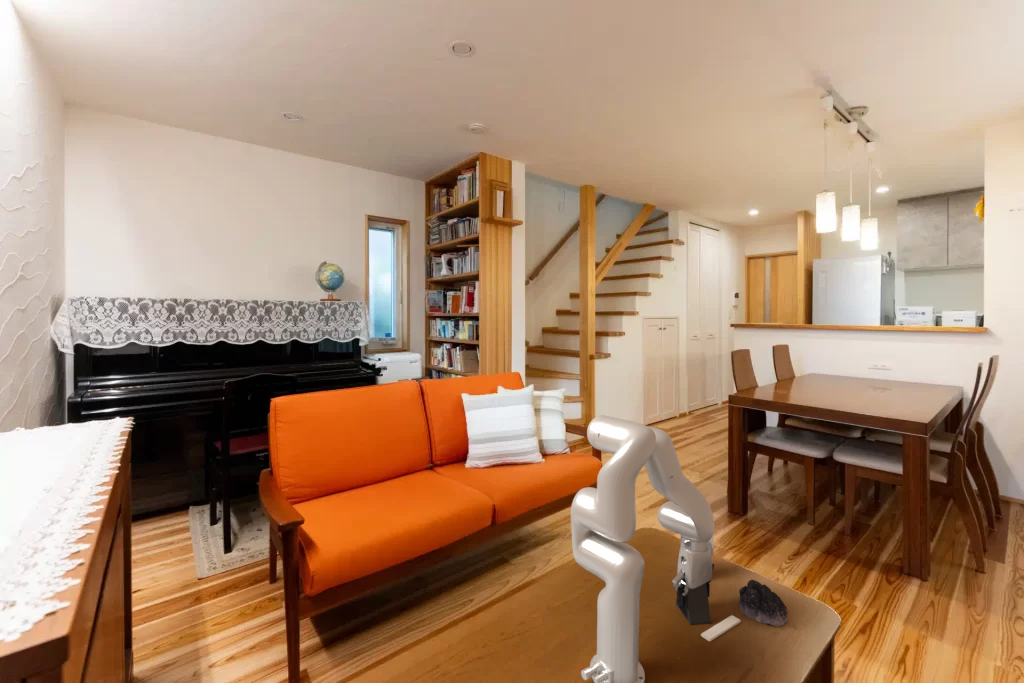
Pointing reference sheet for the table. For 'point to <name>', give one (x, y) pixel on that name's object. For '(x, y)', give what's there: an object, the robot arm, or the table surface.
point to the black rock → (762, 604)
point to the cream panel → (720, 628)
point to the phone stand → (697, 605)
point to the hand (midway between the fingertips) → (693, 600)
